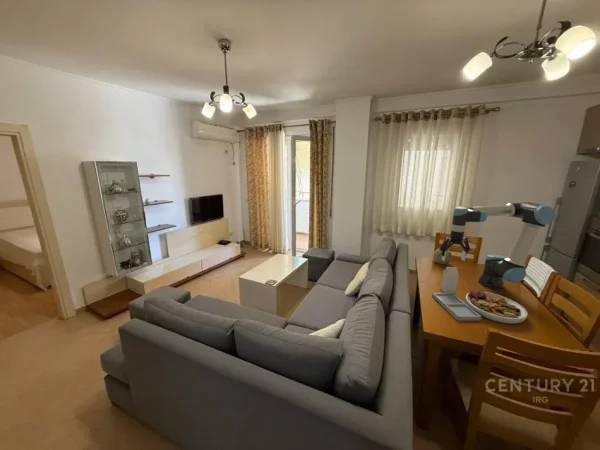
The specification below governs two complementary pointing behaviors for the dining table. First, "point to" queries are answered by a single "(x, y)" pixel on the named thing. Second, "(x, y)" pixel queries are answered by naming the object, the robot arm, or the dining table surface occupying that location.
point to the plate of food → (496, 307)
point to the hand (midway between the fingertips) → (453, 260)
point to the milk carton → (449, 280)
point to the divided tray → (456, 307)
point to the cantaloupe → (439, 257)
